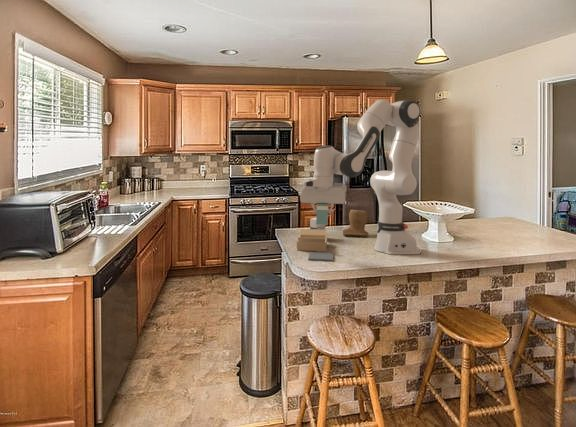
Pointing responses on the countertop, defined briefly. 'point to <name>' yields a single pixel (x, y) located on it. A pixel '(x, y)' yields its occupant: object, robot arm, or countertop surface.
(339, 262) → the countertop surface
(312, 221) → the ink box
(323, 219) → the tea box
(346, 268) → the countertop surface
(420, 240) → the countertop surface
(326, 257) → the mat
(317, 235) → the carton
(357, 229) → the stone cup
